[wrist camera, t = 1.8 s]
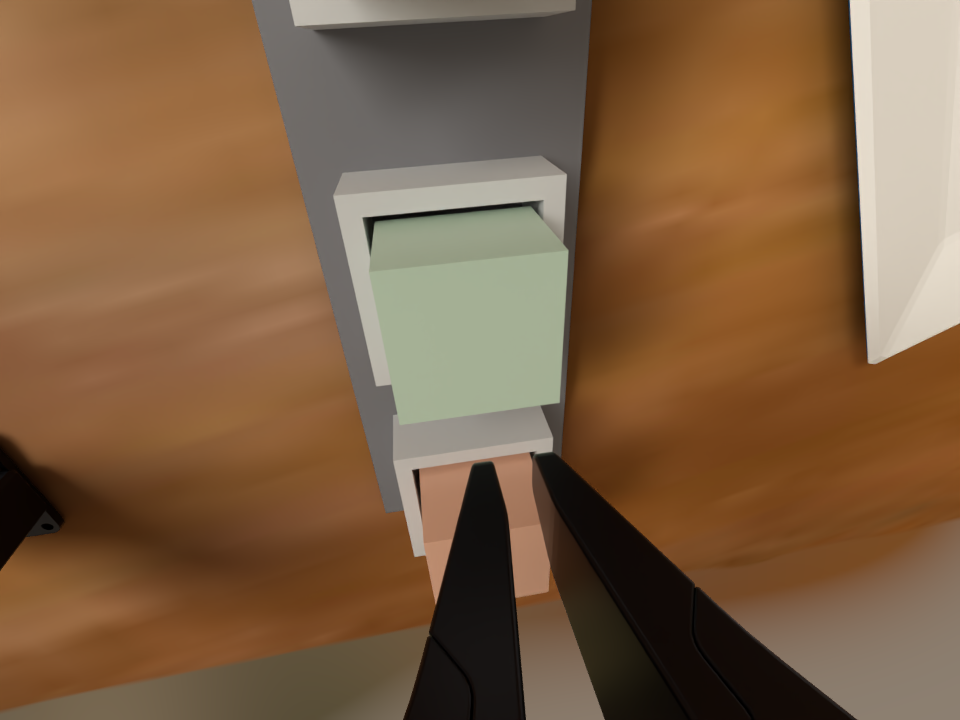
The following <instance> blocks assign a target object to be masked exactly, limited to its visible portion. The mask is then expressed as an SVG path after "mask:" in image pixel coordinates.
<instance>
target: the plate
mask: <svg viewBox="0 0 960 720" xmlns="http://www.w3.org/2000/svg"><path fill="white" fill-rule="evenodd" d="M848 6H849V25H850V44H851V63H852V82H853V101H854V120H855V139H856V158H857V177H858V196H859V215H860V234H861V253H862V272H863V291H864V310H865V329H866V348H867V358H868V363H870V364H877V363H879V362H881V361H883V360H885V359H887V358H889V357H891V356H893V355H895V354H897V353H899V352H901V351H903V350H906V349H908V348H910V347H912V346H914V345H916V344H918V343H920V342H922V341H924V340H926V339H928V338H930V337H932V336H935V335H937V334H939V333H941V332H943V331H945V330H947V329H949V328H951V327H953V326H955V325H957V324H959V323H960V0H848Z"/></svg>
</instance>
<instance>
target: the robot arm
mask: <svg viewBox="0 0 960 720" xmlns="http://www.w3.org/2000/svg"><path fill="white" fill-rule="evenodd" d="M532 488H533V494H534V499H535V503H536V507H537V512H538V516H539V520H540V524H541V529H542V533H543V537H544V542H545V546H546V550H547V554H548V558H549V562H550V566H551V570H552V573H553V576H554V579H555V582H556V585H557V587H558V590H559V593H560V596H561V599H562V601H563V604H564V607H565V609H566V612H567V615H568V618H569V621H570V624H571V626H572V629H573V632H574V635H575V638H576V640H577V643H578V646H579V649H580V651H581V654H582V657H583V660H584V663H585V666H586V668H587V671H588V674H589V677H590V679H591V682H592V685H593V688H594V691H595V694H596V696H597V699H598V702H599V705H600V707H601V710H602V713H603V716H604V719H605V720H857V719H855V718H854V717H853V716H852V715H851V714H849V713H848V712H847V711H845V710H844V709H843V708H842V707H840V706H839V705H838V704H837V703H835V702H834V701H833V700H832V699H830V698H829V697H828V696H827V695H825V694H824V693H823V692H821V691H820V690H819V689H818V688H817V687H815V686H814V685H813V684H812V683H810V682H809V681H808V680H806V679H805V678H804V677H802V676H801V675H800V674H799V673H798V672H796V671H795V670H794V669H793V668H791V667H790V666H789V665H788V664H786V663H785V662H784V661H783V660H781V659H780V658H779V657H778V656H776V655H775V654H774V653H773V652H772V651H770V650H769V649H768V648H767V647H766V646H764V645H763V644H762V643H761V642H759V641H758V640H757V639H756V638H755V637H753V636H752V635H751V634H750V633H749V632H747V631H746V630H745V629H744V628H743V627H742V626H741V625H740V624H738V623H737V622H736V621H735V620H734V619H733V618H732V617H731V616H729V615H728V614H727V613H726V612H725V611H724V610H723V609H722V608H721V607H719V606H718V605H717V604H716V603H715V602H714V601H713V600H712V599H711V598H710V597H709V596H708V595H707V594H705V592H703V591H702V590H701V589H700V588H699V587H695V584H694V582H693V581H692V580H690V579H689V578H688V577H687V576H686V575H685V574H684V573H683V572H682V571H681V570H680V569H679V568H678V567H677V566H676V565H674V564H673V563H672V562H671V561H670V560H669V559H668V558H667V557H666V556H665V555H664V554H663V553H662V552H661V551H660V550H658V549H657V548H656V547H655V546H654V545H653V544H652V543H651V542H650V541H649V540H648V539H647V538H646V537H645V536H644V535H642V534H641V533H640V532H639V531H638V530H637V529H636V528H635V527H634V526H633V525H632V524H631V523H630V522H629V521H628V520H626V519H625V518H624V517H623V516H622V515H621V514H620V513H619V512H618V511H617V510H616V509H615V508H614V507H613V506H612V505H610V504H609V503H608V502H607V501H606V500H605V499H604V498H603V497H602V496H601V495H600V494H599V493H598V492H597V491H596V490H594V489H593V488H592V487H591V486H590V485H589V484H588V483H587V482H586V481H585V480H584V479H583V478H582V477H581V476H579V475H578V474H577V473H576V472H575V471H574V470H573V469H572V468H571V467H570V466H569V465H568V464H567V463H566V462H565V461H563V460H562V459H561V458H560V457H559V456H558V455H557V454H556V453H554V452H545V453H539V454H535V455H534V456H533V459H532ZM63 524H64V519H63V518H62V517H61V515H60V514H59V513H58V512H57V511H56V510H55V509H54V508H53V506H52V505H51V504H50V503H49V502H48V501H47V500H46V499H45V497H44V496H43V495H42V494H41V493H40V492H39V491H38V490H37V489H36V487H35V486H34V485H33V484H32V483H31V482H30V481H29V480H28V478H27V477H26V476H25V475H24V474H23V473H22V472H21V471H20V469H19V468H18V467H17V466H16V465H15V464H14V463H13V462H12V461H11V459H10V458H9V457H8V456H7V455H6V454H5V453H4V452H3V450H2V449H1V448H0V571H1V569H2V568H3V567H4V565H5V564H6V563H7V561H8V560H9V559H10V557H11V556H12V555H13V553H14V552H15V551H16V549H17V548H18V547H19V545H20V544H21V543H22V541H23V540H24V539H25V537H30V536H36V535H43V534H49V533H55V532H57V531H59V530H60V528H61V527H62V525H63ZM516 611H517V610H516V598H515V587H514V575H513V564H512V552H511V540H510V529H509V520H508V513H507V509H506V505H505V501H504V498H503V494H502V490H501V487H500V483H499V480H498V476H497V472H496V469H495V465H494V463H493V462H492V461H485V462H478V463H474V464H473V465H472V467H471V470H470V474H469V478H468V482H467V486H466V490H465V494H464V497H463V501H462V505H461V509H460V513H459V517H458V521H457V525H456V529H455V532H454V536H453V540H452V544H451V548H450V552H449V556H448V560H447V564H446V568H445V571H444V575H443V579H442V583H441V587H440V591H439V595H438V599H437V603H436V606H435V610H434V614H433V618H432V622H431V626H430V630H429V635H430V636H428V637H427V641H426V644H425V648H424V652H423V656H422V660H421V663H420V667H419V670H418V674H417V677H416V681H415V684H414V688H413V691H412V695H411V698H410V701H409V704H408V707H407V710H406V713H405V716H404V719H403V720H526V715H525V703H524V691H523V681H522V668H521V657H520V645H519V634H518V622H517V612H516Z"/></svg>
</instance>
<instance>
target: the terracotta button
mask: <svg viewBox="0 0 960 720" xmlns="http://www.w3.org/2000/svg"><path fill="white" fill-rule="evenodd" d="M485 461H492V462H493V463H494V465H495V469H496V472H497V476H498V480H499V483H500V487H501V490H502V494H503V498H504V501H505V505H506V509H507V513H508V520H509V529H510V540H511V552H512V564H513V575H514V587H515V598H516V597H522V596H528V595H533V594H539V593H544V592H548V589H549V572H550V562H549V558H548V554H547V550H546V546H545V542H544V537H543V533H542V529H541V524H540V520H539V516H538V512H537V507H536V503H535V499H534V494H533V488H532V459H531V456H530V453H529V452H527V453H520V454H514V455H507V456H500V457H494V458H487V459H480V460H474V461H467V462H460V463H454V464H447V465H440V466H434V467H427V468H420V469H419V473H420V491H421V508H422V525H423V542H424V548H425V553H426V558H427V563H428V568H429V573H430V578H431V583H432V588H433V593H434V598H435V603H437V599H438V595H439V591H440V587H441V583H442V579H443V575H444V571H445V568H446V564H447V560H448V556H449V552H450V548H451V544H452V540H453V536H454V532H455V529H456V525H457V521H458V517H459V513H460V509H461V505H462V501H463V497H464V494H465V490H466V486H467V482H468V478H469V474H470V470H471V467H472V465H473V464H474V463H478V462H485Z"/></svg>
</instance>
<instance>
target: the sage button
mask: <svg viewBox="0 0 960 720" xmlns="http://www.w3.org/2000/svg"><path fill="white" fill-rule="evenodd" d="M568 251H569V250H568V249H567V248H566V247H565V246H564V244H563V243H562V242H561V241H560V240H559V239H558V237H557V236H556V235H555V234H554V233H553V232H552V231H551V229H550V228H549V227H548V226H547V225H546V224H545V222H544V221H543V220H542V219H541V218H540V217H539V215H538V214H537V213H536V212H535V211H534V210H533V208H532V207H531V206H526V207H516V208H506V209H495V210H485V211H475V212H465V213H455V214H444V215H434V216H424V217H414V218H404V219H393V220H383V221H375V223H374V232H373V241H372V249H371V258H370V267H369V275H370V280H371V285H372V290H373V295H374V300H375V305H376V310H377V315H378V320H379V325H380V330H381V335H382V340H383V345H384V349H385V354H386V359H387V364H388V369H389V374H390V379H391V384H392V389H393V394H394V399H395V404H396V409H397V414H398V419H399V424H400V425H405V424H412V423H419V422H426V421H433V420H440V419H447V418H455V417H462V416H469V415H476V414H483V413H490V412H497V411H504V410H511V409H519V408H526V407H533V406H540V405H547V404H554V403H560V386H561V369H562V352H563V336H564V319H565V302H566V285H567V268H568Z"/></svg>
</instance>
